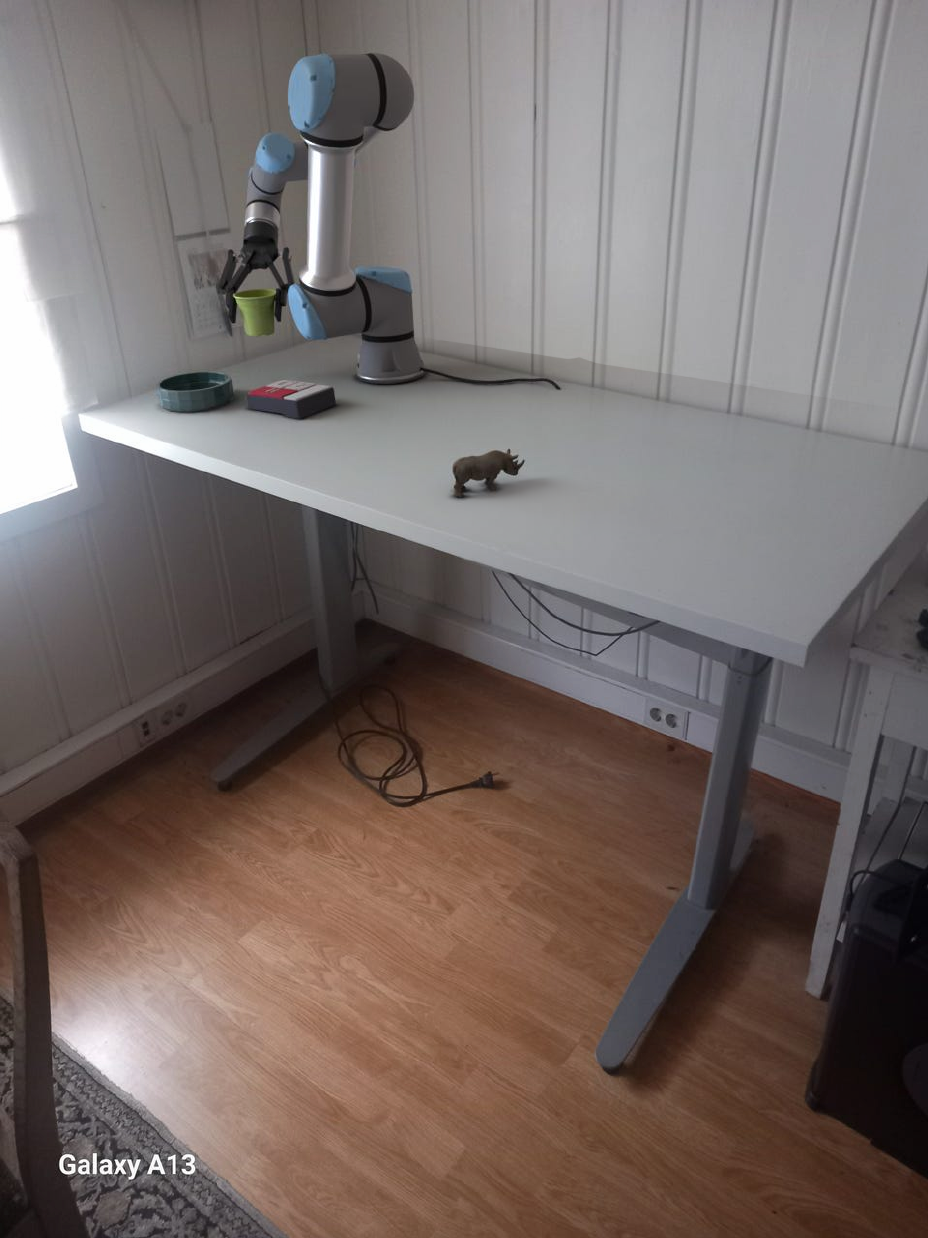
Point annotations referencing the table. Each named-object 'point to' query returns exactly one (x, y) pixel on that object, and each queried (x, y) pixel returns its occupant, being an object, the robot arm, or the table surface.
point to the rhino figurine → (484, 469)
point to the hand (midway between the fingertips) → (254, 318)
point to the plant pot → (257, 311)
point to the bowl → (195, 391)
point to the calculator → (291, 398)
